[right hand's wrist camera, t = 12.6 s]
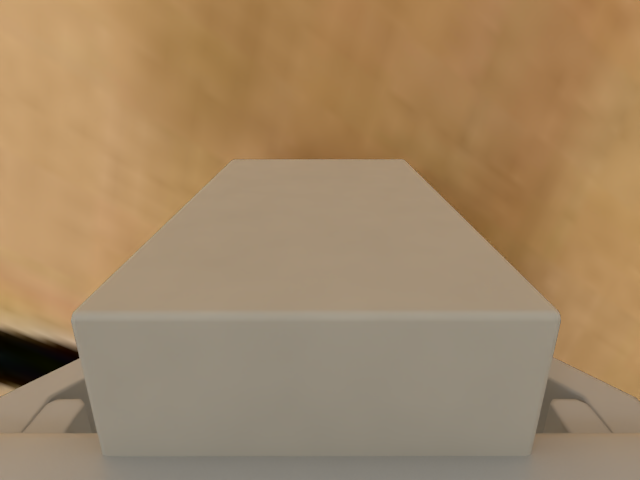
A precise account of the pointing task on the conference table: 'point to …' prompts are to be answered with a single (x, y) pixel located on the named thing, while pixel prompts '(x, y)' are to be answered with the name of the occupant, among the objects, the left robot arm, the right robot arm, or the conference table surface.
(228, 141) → the conference table surface
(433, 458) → the right robot arm
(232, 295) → the bar
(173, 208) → the conference table surface
